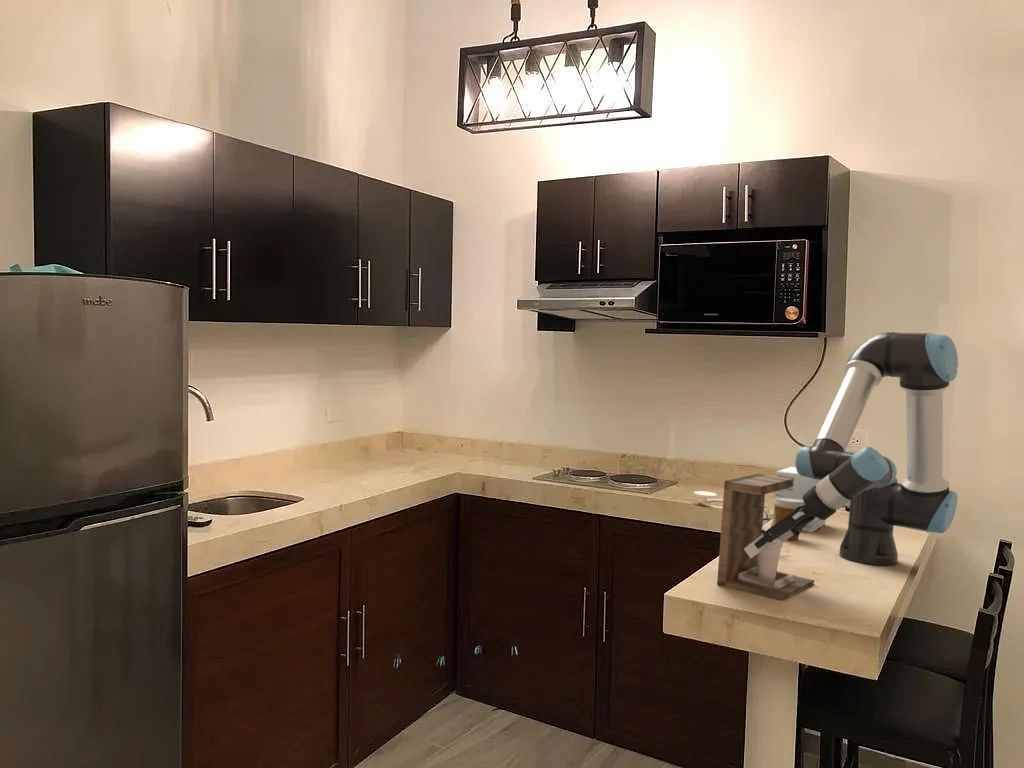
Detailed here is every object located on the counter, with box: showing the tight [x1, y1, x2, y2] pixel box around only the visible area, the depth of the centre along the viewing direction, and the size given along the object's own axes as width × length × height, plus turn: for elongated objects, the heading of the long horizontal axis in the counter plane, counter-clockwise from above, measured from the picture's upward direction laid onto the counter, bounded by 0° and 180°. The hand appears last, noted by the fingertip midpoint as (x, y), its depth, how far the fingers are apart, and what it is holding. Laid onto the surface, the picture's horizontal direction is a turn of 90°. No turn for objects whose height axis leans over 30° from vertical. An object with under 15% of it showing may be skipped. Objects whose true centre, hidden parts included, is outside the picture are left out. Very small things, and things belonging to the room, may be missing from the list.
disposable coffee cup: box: [773, 497, 805, 542], centre depth 263 cm, size 10×10×12 cm
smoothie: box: [757, 522, 784, 580], centre depth 210 cm, size 6×6×14 cm
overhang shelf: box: [716, 473, 815, 601], centre depth 210 cm, size 20×16×25 cm
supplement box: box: [772, 466, 826, 533], centre depth 284 cm, size 17×13×18 cm
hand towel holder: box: [694, 490, 723, 510], centre depth 313 cm, size 17×4×21 cm
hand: (759, 549), depth 211 cm, fingers open, 13 cm apart
